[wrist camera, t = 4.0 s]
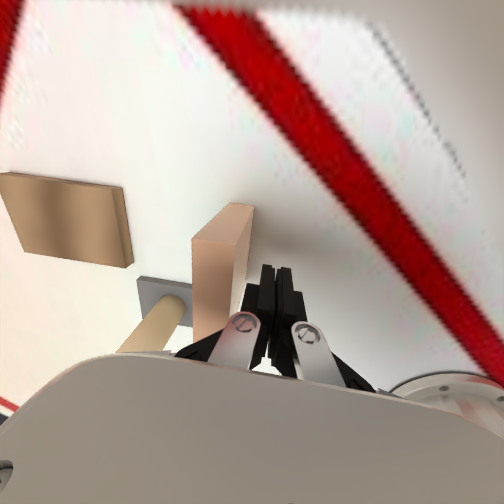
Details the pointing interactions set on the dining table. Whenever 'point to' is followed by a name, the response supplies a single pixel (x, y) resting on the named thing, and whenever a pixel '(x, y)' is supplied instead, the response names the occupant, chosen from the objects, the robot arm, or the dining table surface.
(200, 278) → the tile
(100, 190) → the board
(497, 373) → the dining table surface
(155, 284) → the float
